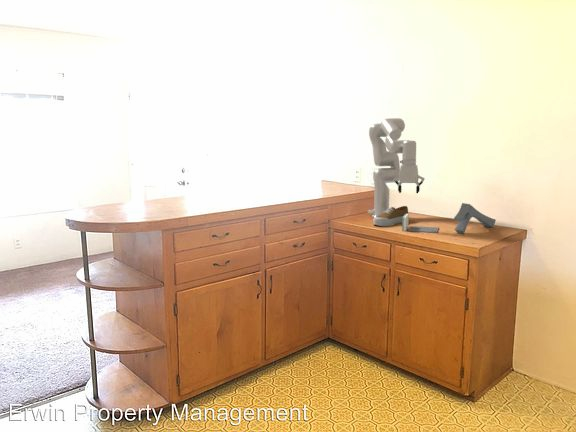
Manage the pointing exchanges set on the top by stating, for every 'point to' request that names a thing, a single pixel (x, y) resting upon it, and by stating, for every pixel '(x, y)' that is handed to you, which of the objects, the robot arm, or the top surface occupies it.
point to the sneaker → (390, 216)
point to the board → (405, 222)
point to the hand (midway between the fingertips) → (408, 192)
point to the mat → (423, 229)
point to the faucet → (469, 212)
